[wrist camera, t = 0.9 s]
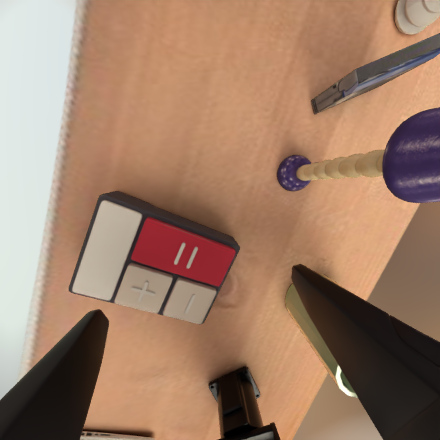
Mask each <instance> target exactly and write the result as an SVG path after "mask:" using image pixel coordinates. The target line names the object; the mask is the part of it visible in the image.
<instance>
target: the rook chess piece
mask: <svg viewBox="0 0 440 440" xmlns="http://www.w3.org/2000/svg"><path fill="white" fill-rule="evenodd" d="M439 16H440V0H399V1H398V3H397V6H396V9H395V23H396V26H397V28H398V29H399V31H400V32H401V33H404V34H410V35H411V34H417V33H419V32H421V31H422V30H423V29H425V28H426V26H428V25H430V24H431V23H433V22H434V21H435V20H436V19H437V18H438V17H439Z"/></svg>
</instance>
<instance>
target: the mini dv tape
mask: <svg viewBox="0 0 440 440" xmlns="http://www.w3.org/2000/svg"><path fill="white" fill-rule="evenodd" d="M438 54H440V33H439V34H437V35H434V36H432V37H430V38H427V39H425V40H423V41H420V42H418V43H416V44H413V45H411V46H409V47H406V48H404V49H402V50H399V51H397V52H395V53H392V54H390V55H388V56H385V57H383V58H381V59H378V60H376V61H374V62H371V63H369V64H367V65H364V66H362V67H360V68H357V69H355V70H354V71H352V72H351V73H349V74H348V75H347V76H345V77H344V78H342V79H341V80H339V81H338V82H337V83H335V84H334V85H332V86H331V87H329V88H328V89H327V90H325V91H324V92H322V93H321V94H320V95H318V96H317V97H315V98H314V99H312V100H311V102H312V106H313V110H314V114H317V113H319V112H321V111H324V110H326V109H328V108H331V107H333V106H335V105H337V104H340V103H342V102H344V101H347V100H349V99H351V98H354V97H356V96H358V95H361V94H363V93H365V92H368V91H370V90H372V89H375V88H377V87H379V86H381V85H383V84H385V83H387V82H389V81H391V80H392V79H394V78H396V77H398V76H400V75H402V74H404V73H406V72H408V71H410V70H412V69H414V68H415V67H417V66H419V65H421V64H423V63H425V62H427V61H429V60H431V59H433V58H434V57H436V56H437V55H438Z"/></svg>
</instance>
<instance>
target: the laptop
mask: <svg viewBox="0 0 440 440" xmlns="http://www.w3.org/2000/svg"><path fill="white" fill-rule="evenodd" d="M80 440H155V438H150V437H141V436H132V435H122V434H111V433H100V432H87V431H82V434H81V438H80Z"/></svg>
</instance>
